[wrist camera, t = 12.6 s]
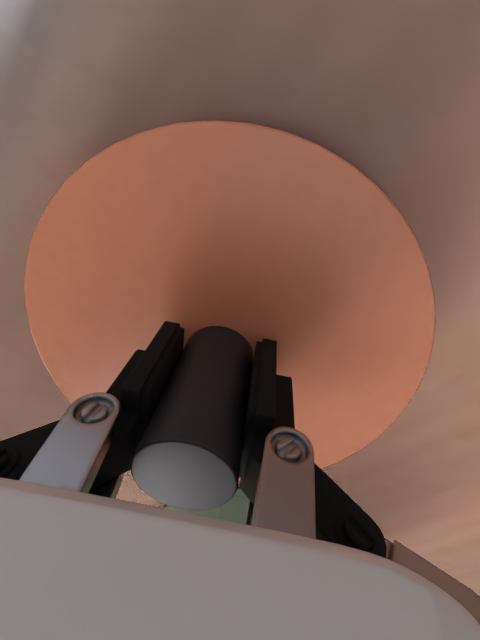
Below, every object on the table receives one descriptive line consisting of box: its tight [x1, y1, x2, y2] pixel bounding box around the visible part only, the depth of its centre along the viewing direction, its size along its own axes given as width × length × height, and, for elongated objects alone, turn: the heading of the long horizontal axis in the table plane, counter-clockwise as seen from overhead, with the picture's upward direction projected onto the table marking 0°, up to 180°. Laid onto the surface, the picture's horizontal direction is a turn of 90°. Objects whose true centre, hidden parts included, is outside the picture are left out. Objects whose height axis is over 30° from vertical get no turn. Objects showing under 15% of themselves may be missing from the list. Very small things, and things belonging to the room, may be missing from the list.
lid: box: [25, 120, 436, 511], centre depth 11 cm, size 16×16×7 cm
